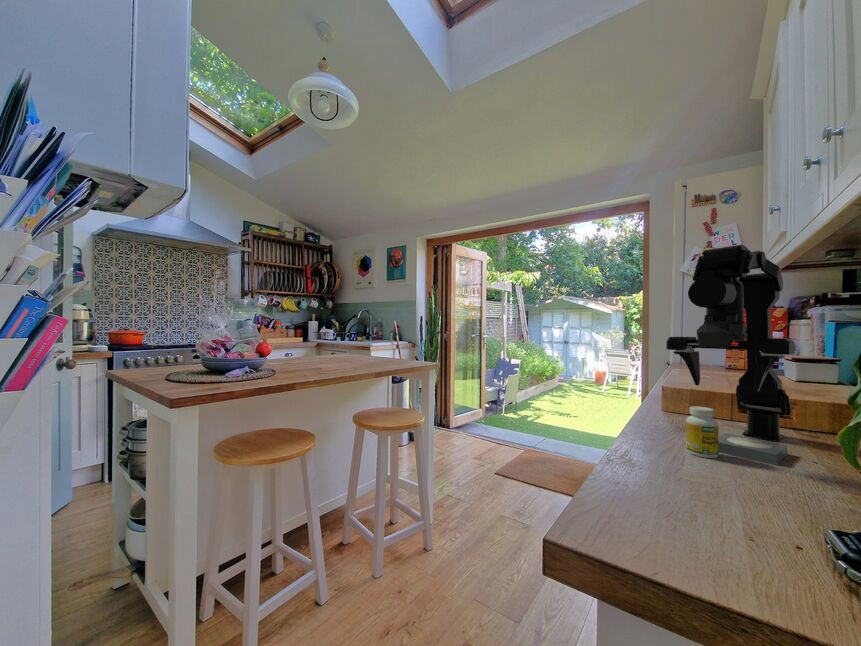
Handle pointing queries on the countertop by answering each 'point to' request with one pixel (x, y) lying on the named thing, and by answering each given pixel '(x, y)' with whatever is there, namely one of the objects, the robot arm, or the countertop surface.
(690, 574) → the countertop surface
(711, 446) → the supplement bottle
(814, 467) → the countertop surface
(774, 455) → the slate base
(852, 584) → the countertop surface
